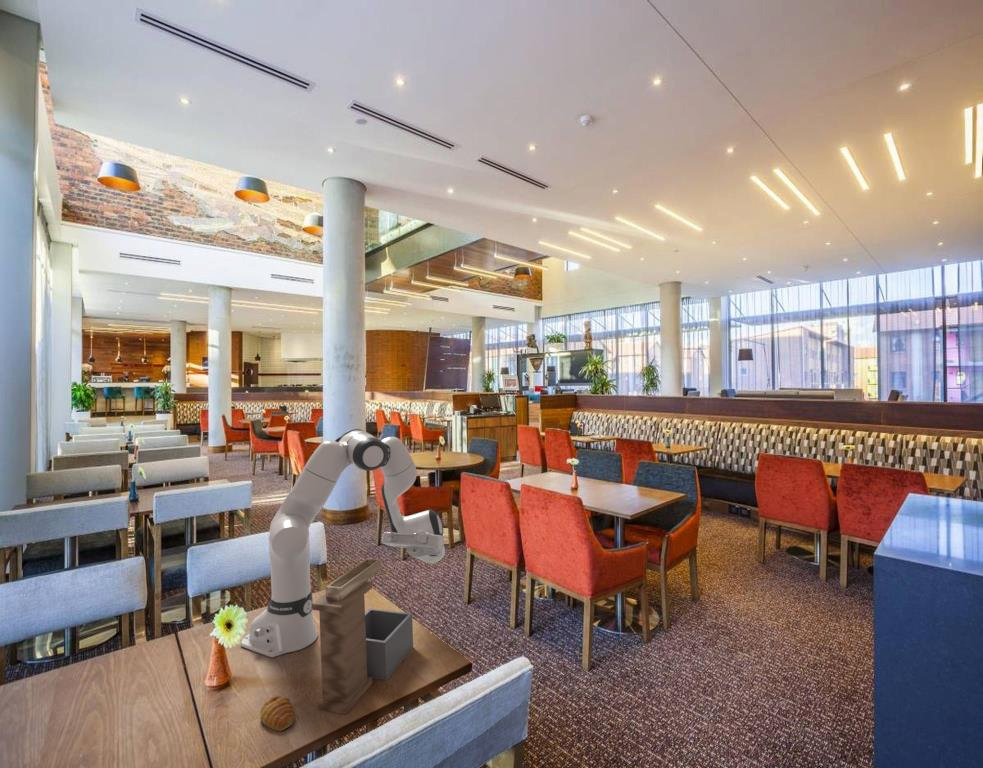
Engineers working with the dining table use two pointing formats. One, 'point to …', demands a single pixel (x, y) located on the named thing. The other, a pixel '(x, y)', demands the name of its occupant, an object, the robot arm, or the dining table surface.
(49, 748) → the dining table surface
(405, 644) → the charcoal crate
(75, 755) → the dining table surface
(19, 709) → the dining table surface
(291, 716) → the pastry
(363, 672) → the walnut pedestal
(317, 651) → the dining table surface
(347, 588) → the birch crate
